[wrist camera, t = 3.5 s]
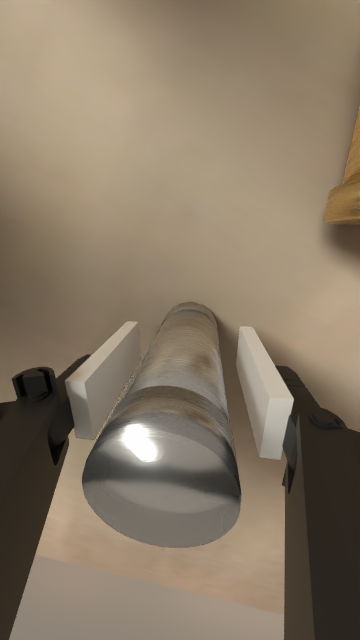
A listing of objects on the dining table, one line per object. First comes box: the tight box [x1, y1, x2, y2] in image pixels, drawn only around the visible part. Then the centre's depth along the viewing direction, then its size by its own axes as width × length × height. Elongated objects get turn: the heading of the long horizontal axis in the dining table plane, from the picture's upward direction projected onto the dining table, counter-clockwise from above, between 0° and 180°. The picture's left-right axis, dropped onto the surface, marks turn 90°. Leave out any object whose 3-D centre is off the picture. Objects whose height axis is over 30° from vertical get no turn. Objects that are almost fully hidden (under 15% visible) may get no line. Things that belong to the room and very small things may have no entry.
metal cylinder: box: [82, 302, 241, 548], centre depth 11 cm, size 4×4×12 cm
